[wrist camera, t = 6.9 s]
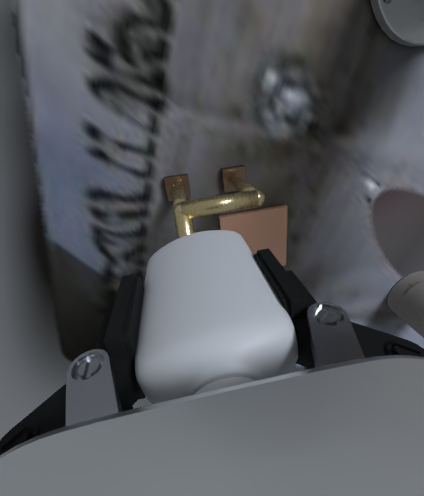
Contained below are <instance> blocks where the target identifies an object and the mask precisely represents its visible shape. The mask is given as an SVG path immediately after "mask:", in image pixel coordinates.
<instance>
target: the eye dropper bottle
mask: <svg viewBox="0 0 424 496" xmlns="http://www.w3.org/2000/svg"><path fill="white" fill-rule="evenodd" d="M297 359H298V343H297V337H296V332H295V328H294V325H293V323H292V320H291V318H290V316H289V315H288V313H287V312H286V310H285V309H284V307H283V305H282V303H281V302H280V300H279V298H278V296H277V295H276V293H275V291H274V290H273V288H272V286H271V285H270V283H269V281H268V280H267V278H266V276H265V275H264V273H263V271H262V269H261V268H260V266H259V264H258V263H257V261H256V259H255V258H254V255H253V254H252V252H251V250H250V249H249V247H248V245H247V244H246V242H245V241H244V239H243V237H242V236H241V235H240V234H239V233H237V232H234V231H228V230H210V231H202V232H197V233H193V234H189V235H186V236H183V237H181V238H178V239H176V240H174V241H172V242H170V243H169V244H167V245H165V246H164V247H162V248H161V249H159V250H158V251H157V252H156V253H154V254H153V255H152V256H151V258H150V259H149V261H148V264H147V271H146V278H145V285H144V293H143V300H142V308H141V315H140V322H139V329H138V337H137V345H136V354H135V375H136V379H137V382H138V384H139V386H140V388H141V390H142V391H143V393H144V394H145V396H146V397H147V399H148V400H149V401H150V402H151V403H152V404H157V403H161V402H165V401H170V400H174V399H178V398H182V397H187V396H191V395H195V394H200V393H204V392H209V391H213V390H217V389H222V388H226V387H231V386H235V385H239V384H244V383H248V382H253V381H257V380H261V379H266V378H270V377H275V376H279V375H284V374H288V373H291V371H292V370H293V369H294V367H295V365H296V362H297Z"/></svg>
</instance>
